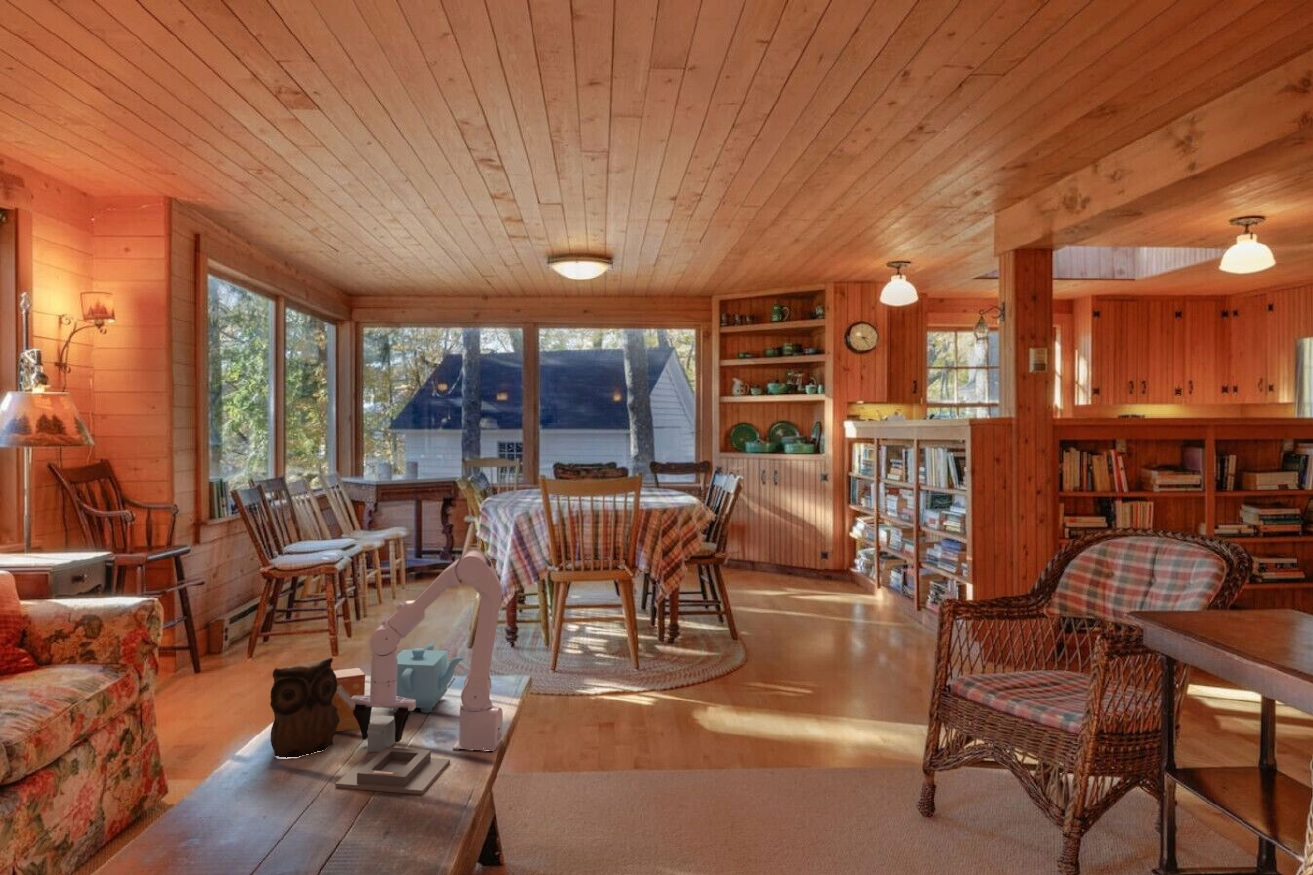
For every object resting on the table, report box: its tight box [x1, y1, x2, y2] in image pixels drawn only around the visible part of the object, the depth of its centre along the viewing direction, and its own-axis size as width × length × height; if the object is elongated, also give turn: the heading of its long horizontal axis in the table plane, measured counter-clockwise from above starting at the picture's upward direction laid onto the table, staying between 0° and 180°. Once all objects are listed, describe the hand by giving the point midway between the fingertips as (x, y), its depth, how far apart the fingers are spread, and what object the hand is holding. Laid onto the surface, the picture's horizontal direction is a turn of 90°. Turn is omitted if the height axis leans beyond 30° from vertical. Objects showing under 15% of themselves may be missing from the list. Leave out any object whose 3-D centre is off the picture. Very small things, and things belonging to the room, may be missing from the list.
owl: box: [269, 657, 340, 758], centre depth 187 cm, size 13×13×20 cm
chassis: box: [335, 746, 451, 795], centre depth 177 cm, size 18×16×3 cm
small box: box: [332, 667, 366, 733], centre depth 203 cm, size 8×6×13 cm
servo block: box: [367, 714, 397, 753], centre depth 192 cm, size 4×9×6 cm, turn 174°
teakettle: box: [370, 642, 467, 714], centre depth 220 cm, size 19×19×15 cm
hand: (382, 739), depth 192 cm, fingers open, 7 cm apart
